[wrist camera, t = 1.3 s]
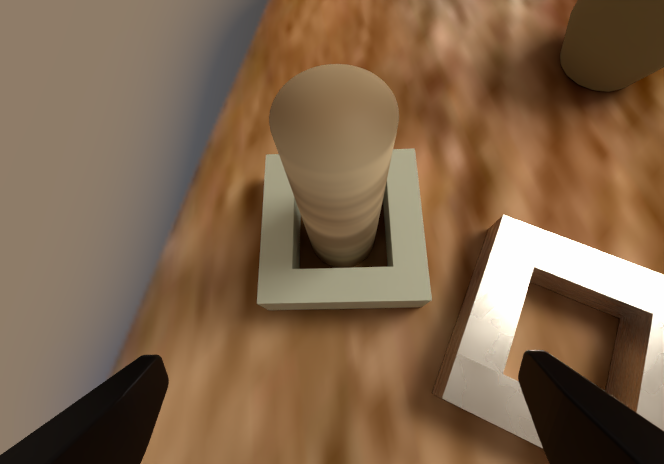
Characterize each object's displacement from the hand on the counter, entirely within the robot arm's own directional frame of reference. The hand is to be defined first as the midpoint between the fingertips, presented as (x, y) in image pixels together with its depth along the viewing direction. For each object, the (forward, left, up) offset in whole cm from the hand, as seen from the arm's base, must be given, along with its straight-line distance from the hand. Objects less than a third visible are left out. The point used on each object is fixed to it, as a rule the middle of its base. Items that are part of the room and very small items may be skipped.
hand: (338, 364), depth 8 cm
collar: (+7, +5, -14) cm, 16 cm away
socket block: (+8, -10, -14) cm, 19 cm away
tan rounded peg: (+7, +5, -14) cm, 16 cm away
